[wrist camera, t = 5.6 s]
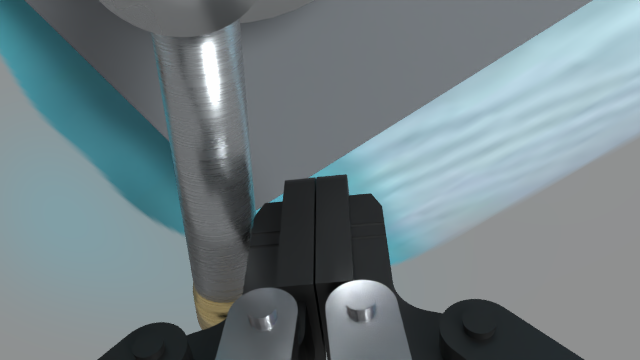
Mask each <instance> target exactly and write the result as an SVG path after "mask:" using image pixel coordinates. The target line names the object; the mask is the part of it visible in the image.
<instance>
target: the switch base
mask: <svg viewBox="0 0 640 360" xmlns="http://www.w3.org/2000/svg"><path fill="white" fill-rule="evenodd" d="M25 1H26V2H27V3H28V4H29V5H30V6H31V7H32V8H33V9H34V10H35V11H36V12H37V13H38V14H39V15H40V16H41V17H42V18H43V19H44V20H45V21H46V22H47V23H49V24H50V25H51V26H52V27H53V28H54V29H55V30H56V31H57V32H58V33H59V34H60V35H61V36H62V37H63V38H64V39H65V40H66V41H67V42H68V43H69V44H70V45H71V46H72V47H73V48H74V49H75V50H76V51H77V52H78V53H79V54H80V55H81V56H82V57H83V58H84V59H85V60H86V61H87V62H88V63H89V64H90V65H91V66H93V67H94V68H95V69H96V70H97V71H98V72H99V73H100V74H101V75H102V76H103V77H104V78H105V79H106V80H107V81H108V82H109V83H110V84H111V85H112V86H113V87H114V88H115V89H116V90H117V91H118V92H119V93H120V94H121V95H122V96H123V97H124V98H125V99H126V100H127V101H128V102H129V103H130V104H131V105H132V106H133V107H134V108H135V109H137V110H138V111H139V112H140V113H141V114H142V115H143V116H144V117H145V118H146V119H147V120H148V121H149V122H150V123H151V124H152V125H153V126H154V127H155V128H156V129H157V130H158V131H159V132H160V133H161V134H162V135H163V136H164V137H165V138H166V139H167V140H168V141H169V135H168V130H167V124H166V118H165V112H164V106H163V100H162V94H161V88H160V82H159V77H158V71H157V65H156V59H155V53H154V47H153V41H152V35H151V32H149V31H145V30H143V29H141V28H138V27H136V26H134V25H132V24H130V23H128V22H126V21H125V20H123V19H121V18H120V17H118V16H117V15H115V14H114V13H113V12H111V11H110V10H109V9H108V8H106V7H105V6H104V5H103V4H102V3H101V2H100V1H99V0H25ZM591 1H592V0H314V1H312V2H310V3H308V4H306V5H304V6H302V7H300V8H298V9H296V10H293V11H290V12H287V13H284V14H282V15H279V16H276V17H273V18H268V19H263V20H259V21H254V22H249V23H240V28H241V40H242V53H243V65H244V77H245V89H246V101H247V113H248V125H249V137H250V149H251V162H252V174H253V186H254V198H255V210H257V209H259V208H261V207H262V206H263V205H264V204H265V203H269V202H270V201H272V200H273V199H275V198H277V197H278V196H280V195H281V194H283V193H284V183H285V180H294V179H305V178H309V177H310V176H312V175H313V174H315V173H317V172H318V171H320V170H321V169H323V168H325V167H326V166H328V165H329V164H331V163H333V162H334V161H336V160H337V159H339V158H341V157H342V156H344V155H345V154H347V153H349V152H350V151H352V150H353V149H355V148H357V147H358V146H360V145H361V144H363V143H365V142H366V141H368V140H369V139H371V138H373V137H374V136H376V135H377V134H379V133H381V132H382V131H384V130H385V129H387V128H389V127H390V126H392V125H393V124H395V123H397V122H398V121H400V120H402V119H403V118H405V117H406V116H408V115H410V114H411V113H413V112H414V111H416V110H418V109H419V108H421V107H422V106H424V105H426V104H427V103H429V102H430V101H432V100H434V99H435V98H437V97H438V96H440V95H442V94H443V93H445V92H446V91H448V90H450V89H451V88H453V87H454V86H456V85H458V84H459V83H461V82H462V81H464V80H466V79H467V78H469V77H470V76H472V75H474V74H475V73H477V72H478V71H480V70H482V69H483V68H485V67H486V66H488V65H490V64H491V63H493V62H494V61H496V60H498V59H499V58H501V57H502V56H504V55H506V54H507V53H509V52H510V51H512V50H514V49H515V48H517V47H518V46H520V45H522V44H523V43H525V42H526V41H528V40H530V39H531V38H533V37H534V36H536V35H538V34H539V33H541V32H543V31H544V30H546V29H547V28H549V27H551V26H552V25H554V24H555V23H557V22H559V21H560V20H562V19H563V18H565V17H567V16H568V15H570V14H571V13H573V12H575V11H576V10H578V9H579V8H581V7H583V6H584V5H586V4H587V3H589V2H591ZM169 142H170V141H169Z"/></svg>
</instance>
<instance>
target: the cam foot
mask: <svg viewBox="0 0 640 360" xmlns="http://www.w3.org/2000/svg"><path fill="white" fill-rule="evenodd" d="M99 1H100V2H101V3H102V4H103V5H104V6H105V7H106V8H108V9H109V10H110V11H111V12H113V13H114V14H115V15H117V16H118V17H120V18H121V19H123V20H125V21H126V22H128V23H130V24H132V25H134V26H136V27H138V28H141V29H143V30H145V31H149V32H151V35H152V41H153V47H154V53H155V59H156V65H157V71H158V77H159V82H160V88H161V94H162V100H163V106H164V112H165V118H166V124H167V130H168V135H169V141H170V147H171V153H172V159H173V165H174V171H175V177H176V182H177V188H178V194H179V200H180V206H181V212H182V218H183V224H184V230H185V235H186V241H187V247H188V252H189V259H190V264H191V271H192V277H193V295H194V301H195V306H196V313H197V318H198V322H199V324H200V327H201V329H202V330H204V329H207V328H210V327H212V326H214V325H216V324H218V323H220V322H222V321H223V320H225V319H226V318H227V314H228V311H229V309H230V307H231V306H232V304H233V303H234V302H235V301H236V300H237V299H238V298H239V297H241V296H242V294H243V287H244V280H245V274H246V267H247V260H248V254H249V249H250V240H251V236H252V227H253V220H254V217H255V216H256V210H255V198H254V186H253V174H252V162H251V149H250V137H249V125H248V113H247V101H246V89H245V77H244V65H243V53H242V40H241V28H240V23H249V22H254V21H259V20H263V19H268V18H273V17H276V16H279V15H282V14H284V13H287V12H290V11H293V10H296V9H298V8H300V7H302V6H304V5H306V4H308V3H310V2H312V1H314V0H99Z"/></svg>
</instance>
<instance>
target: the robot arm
mask: <svg viewBox="0 0 640 360" xmlns="http://www.w3.org/2000/svg"><path fill="white" fill-rule="evenodd" d="M326 352H327V359H328V360H584V359H582V358H581V357H579V356H578V355H576V354H575V353H573V352H572V351H570V350H568V349H567V348H566V347H564V346H562V345H561V344H559V343H558V342H556V341H555V340H553V339H552V338H550V337H549V336H547V335H545V334H544V333H542V332H541V331H539V330H538V329H536V328H534V327H533V326H532V325H530V324H528V323H527V322H525V321H524V320H522V319H521V318H519V317H518V316H516V315H515V314H513V313H512V312H510V311H509V310H507V309H505V308H504V307H502V306H500V305H499V304H496V303H493V302H491V301H487V300H481V299H469V300H463V301H460V302H457V303H455V304H453V305H451V306H450V307H449V308H448V309H447V310H445V312H444V313H443V314H442V313H437V312H431V311H426V310H422V309H419V308H416V307H414V306H412V305H410V304H408V303H407V302H405V301H404V300H403V299H402V298H401V297H400V296H399V295H398V294H397V292H396V290H395V288H394V285H393V281H392V273H391V266H390V259H389V252H388V245H387V238H386V231H385V225H384V217H383V210H382V206H381V205H380V203H379V202H378V201H377V200H376V199H375V198H374V196H373V195H372V194H360V195H349V189H348V179H347V175H336V176H325V177H317V178H305V179H294V180H285V183H284V194H283V202H273V203H265V204H264V205H263V206H262V208H261V209H260V210H259V212H258V213H257V214H256V216H255V217H254V220H253V227H252V236H251V240H250V249H249V254H248V260H247V267H246V274H245V280H244V287H243V294H242V296H241V297H239V298H238V299H237V300H236V301H235V302H234V303H233V304H232V306H231V307H230V309H229V311H228V314H227V318H226V319H225V320H223V321H222V322H220V323H218V324H216V325H214V326H212V327H210V328H207V329H204V330H201V331H199V332H195V333H192V334H189V335H185V333H184V332H183V330H182V329H181V328H179V327H178V326H176V325H174V324H170V323H164V322H162V323H161V322H160V323H152V324H148V325H145V326H143V327H140V328H138V329H136V330H135V331H133V332H132V333H130V334H129V335H128V336H126V337H125V338H124V339H122V340H121V341H120V342H119V343H118V344H117V345H115V346H114V347H113V348H111V349H110V350H109V351H108V352H107V353H105V354H104V355H103V356H102V357H100V358H99V359H98V360H326Z"/></svg>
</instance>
